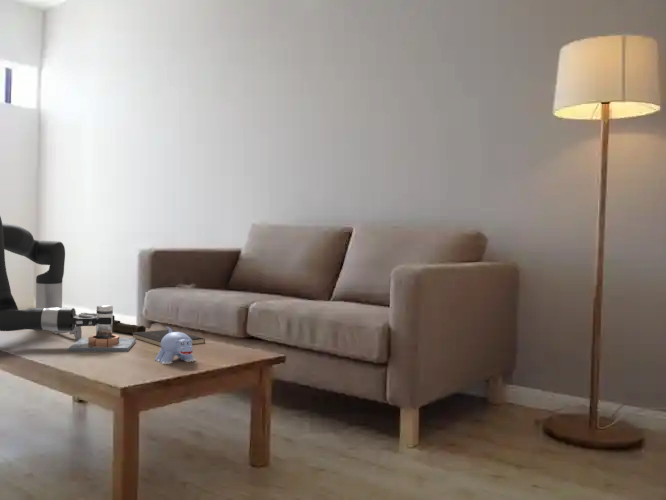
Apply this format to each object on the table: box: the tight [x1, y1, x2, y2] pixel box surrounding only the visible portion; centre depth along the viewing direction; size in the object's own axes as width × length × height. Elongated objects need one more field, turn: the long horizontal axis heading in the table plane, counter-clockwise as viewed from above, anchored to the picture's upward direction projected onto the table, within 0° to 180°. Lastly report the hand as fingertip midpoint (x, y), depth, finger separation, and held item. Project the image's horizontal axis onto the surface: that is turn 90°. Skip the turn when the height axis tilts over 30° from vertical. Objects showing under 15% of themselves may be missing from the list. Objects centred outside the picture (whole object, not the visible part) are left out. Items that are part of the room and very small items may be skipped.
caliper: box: [51, 324, 82, 341], centre depth 230 cm, size 20×1×6 cm, turn 48°
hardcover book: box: [131, 329, 206, 347], centre depth 229 cm, size 16×23×2 cm
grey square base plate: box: [68, 334, 137, 353], centre depth 214 cm, size 18×18×3 cm
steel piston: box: [95, 304, 114, 339], centre depth 214 cm, size 5×5×11 cm
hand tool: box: [112, 319, 147, 335], centre depth 242 cm, size 19×4×5 cm, turn 56°
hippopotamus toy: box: [154, 326, 197, 365], centre depth 194 cm, size 11×15×10 cm
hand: (112, 319), depth 214 cm, fingers closed on steel piston, 5 cm apart
